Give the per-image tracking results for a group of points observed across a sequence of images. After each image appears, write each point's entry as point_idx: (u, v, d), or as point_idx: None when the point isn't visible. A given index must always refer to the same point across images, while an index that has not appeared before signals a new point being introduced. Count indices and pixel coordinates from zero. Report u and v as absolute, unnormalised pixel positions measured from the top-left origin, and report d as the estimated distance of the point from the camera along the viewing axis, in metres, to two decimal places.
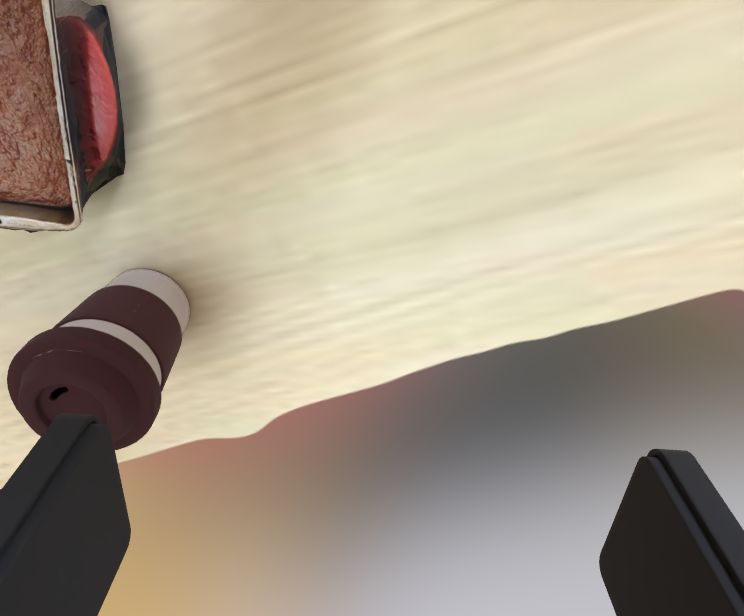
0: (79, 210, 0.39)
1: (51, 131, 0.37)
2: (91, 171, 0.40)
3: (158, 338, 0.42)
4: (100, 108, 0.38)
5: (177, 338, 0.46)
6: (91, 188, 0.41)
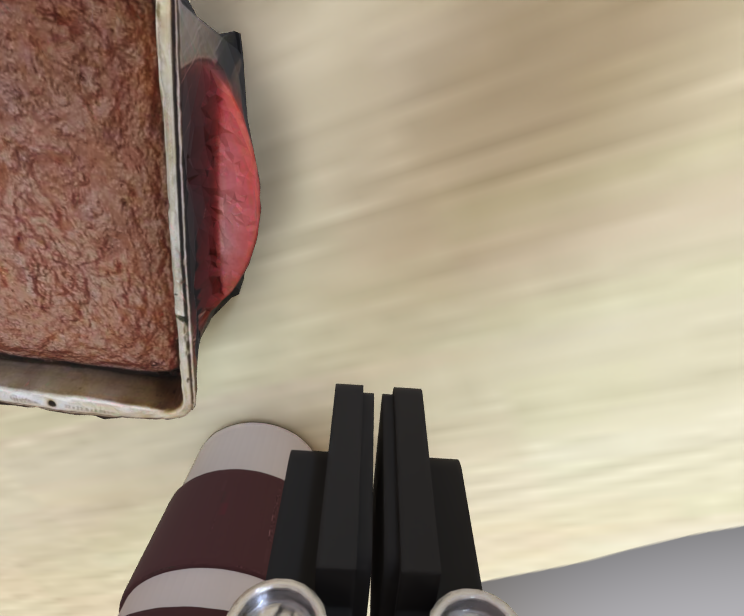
0: (192, 391, 0.22)
1: (148, 260, 0.21)
2: (205, 314, 0.24)
3: None
4: (231, 216, 0.21)
5: None
6: (201, 335, 0.25)
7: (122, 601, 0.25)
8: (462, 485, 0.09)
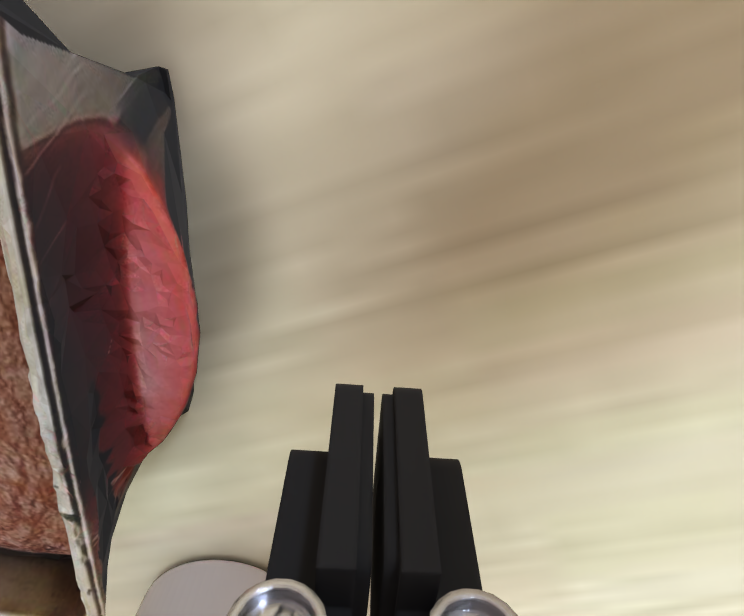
0: (98, 603, 0.15)
1: (20, 422, 0.13)
2: (125, 472, 0.16)
3: None
4: (154, 347, 0.14)
5: None
6: (124, 493, 0.17)
7: None
8: (462, 485, 0.09)
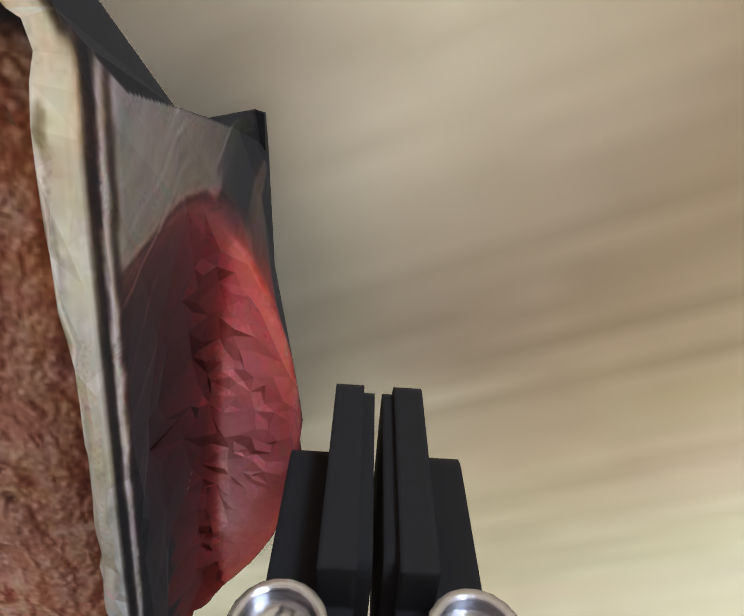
0: None
1: (70, 585, 0.10)
2: (189, 613, 0.13)
3: None
4: (244, 476, 0.11)
5: None
6: None
7: None
8: (462, 485, 0.09)
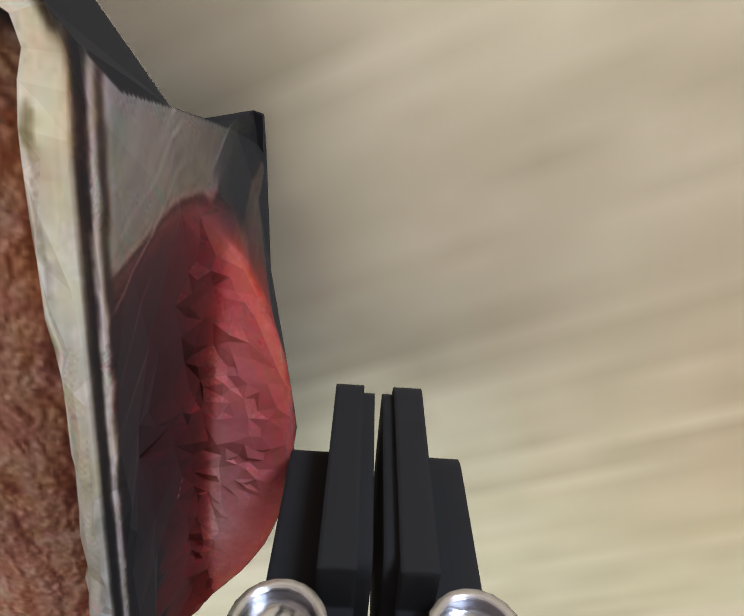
0: None
1: (55, 594, 0.10)
2: None
3: None
4: (235, 484, 0.11)
5: None
6: None
7: None
8: (462, 485, 0.09)
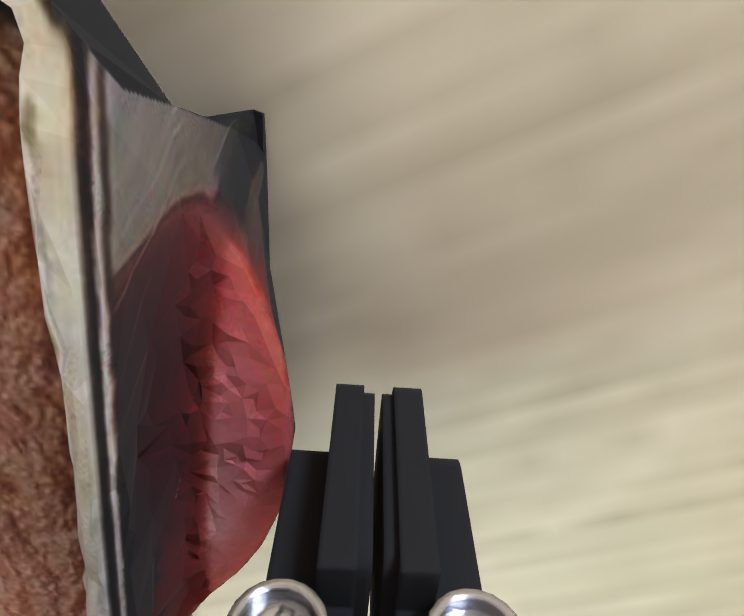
0: None
1: (52, 594, 0.10)
2: None
3: None
4: (234, 485, 0.11)
5: None
6: None
7: None
8: (461, 485, 0.09)
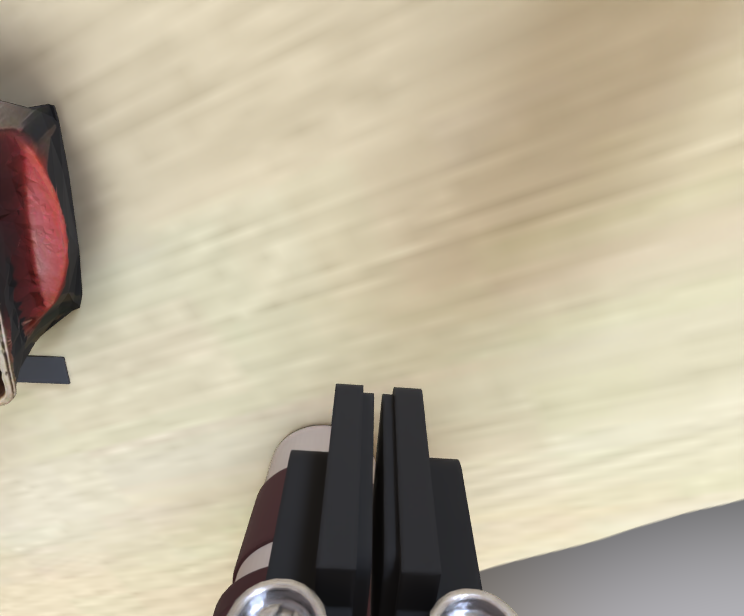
0: (11, 382, 0.28)
1: None
2: (31, 322, 0.30)
3: None
4: (43, 245, 0.28)
5: None
6: (32, 340, 0.31)
7: (237, 568, 0.31)
8: (462, 485, 0.09)
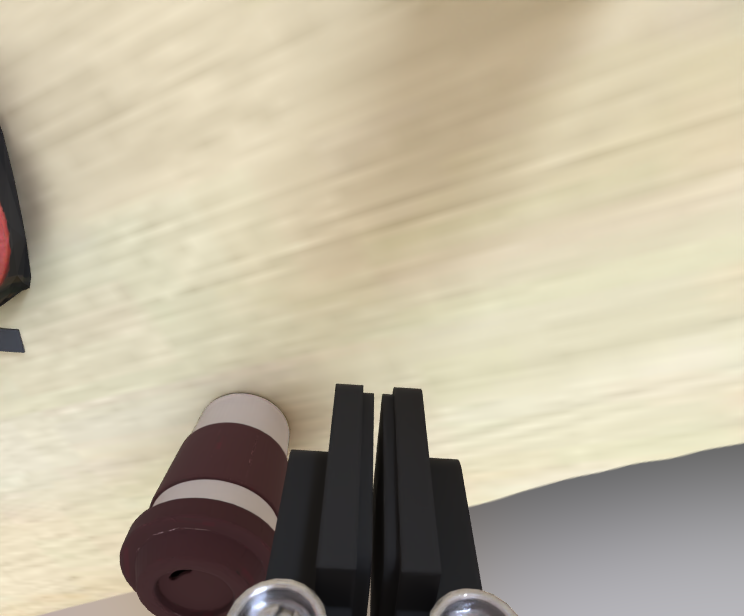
0: None
1: None
2: None
3: (275, 490, 0.38)
4: None
5: None
6: None
7: (151, 505, 0.37)
8: (462, 485, 0.09)
